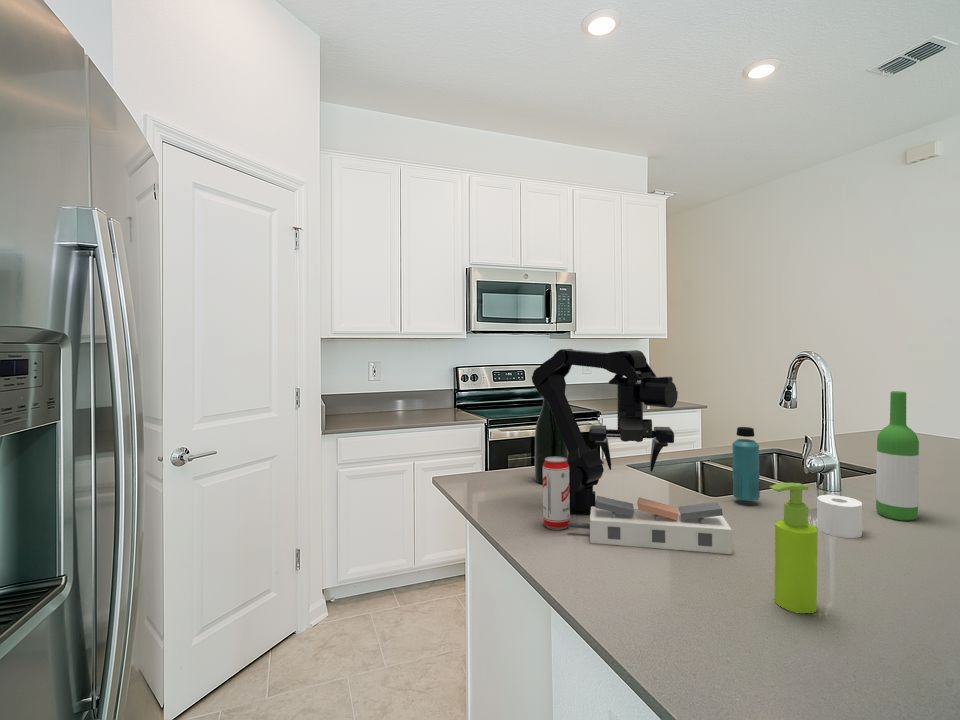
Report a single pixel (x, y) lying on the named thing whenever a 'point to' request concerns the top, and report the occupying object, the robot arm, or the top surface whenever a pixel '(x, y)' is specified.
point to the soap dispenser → (795, 554)
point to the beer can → (556, 493)
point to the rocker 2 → (657, 508)
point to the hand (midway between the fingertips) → (630, 470)
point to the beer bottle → (547, 440)
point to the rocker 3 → (700, 511)
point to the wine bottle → (897, 465)
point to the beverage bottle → (745, 466)
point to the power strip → (658, 531)
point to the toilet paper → (839, 516)
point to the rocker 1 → (614, 506)
